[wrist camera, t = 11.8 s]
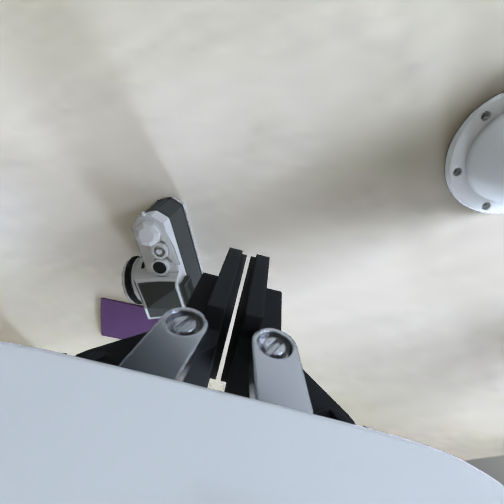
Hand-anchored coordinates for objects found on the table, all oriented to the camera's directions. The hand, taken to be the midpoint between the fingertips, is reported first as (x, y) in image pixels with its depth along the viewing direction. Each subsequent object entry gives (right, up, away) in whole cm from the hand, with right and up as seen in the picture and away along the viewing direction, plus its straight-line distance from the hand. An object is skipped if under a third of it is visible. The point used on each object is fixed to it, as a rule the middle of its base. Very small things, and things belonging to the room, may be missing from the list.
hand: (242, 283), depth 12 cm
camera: (-10, +1, +27) cm, 29 cm away
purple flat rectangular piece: (-13, -10, +33) cm, 37 cm away
